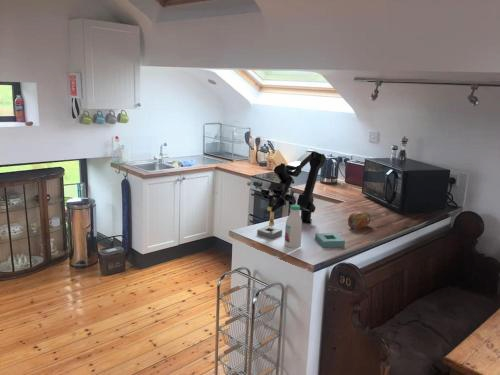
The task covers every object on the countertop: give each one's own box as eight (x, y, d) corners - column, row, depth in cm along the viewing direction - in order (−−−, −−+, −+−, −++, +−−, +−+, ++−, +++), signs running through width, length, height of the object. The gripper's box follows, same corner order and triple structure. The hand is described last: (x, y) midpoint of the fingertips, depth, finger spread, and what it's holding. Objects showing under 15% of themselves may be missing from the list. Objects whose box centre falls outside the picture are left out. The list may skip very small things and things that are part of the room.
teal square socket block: (315, 239, 216) (315, 233, 215) (335, 238, 218) (336, 232, 218) (323, 247, 206) (323, 241, 205) (344, 246, 208) (345, 240, 207)
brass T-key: (273, 223, 220) (274, 204, 217) (276, 224, 218) (277, 205, 216) (266, 226, 215) (267, 206, 212) (269, 227, 214) (270, 207, 211)
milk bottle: (301, 243, 209) (304, 204, 204) (299, 249, 202) (302, 208, 197) (285, 241, 211) (288, 202, 206) (283, 247, 203) (285, 206, 198)
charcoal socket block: (267, 231, 225) (267, 225, 224) (281, 235, 219) (282, 229, 218) (257, 235, 218) (257, 229, 217) (271, 240, 212) (271, 234, 212)
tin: (350, 230, 232) (351, 215, 230) (346, 228, 235) (347, 213, 233) (369, 226, 240) (371, 211, 238) (365, 224, 243) (367, 210, 241)
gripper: (263, 173, 219) (249, 198, 213) (294, 179, 208) (281, 206, 202) (271, 185, 227) (257, 210, 221) (301, 192, 216) (288, 218, 210)
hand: (270, 210), depth 214 cm, fingers closed on brass T-key, 2 cm apart
